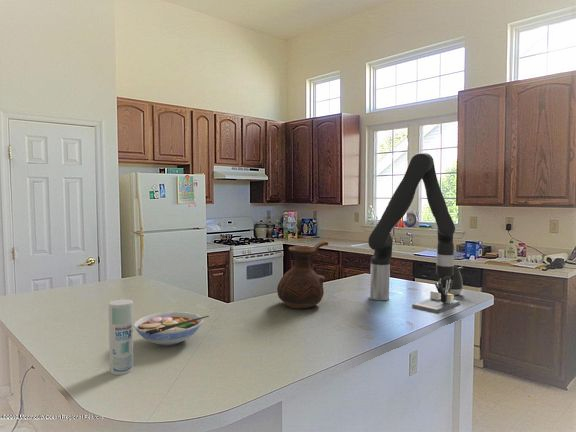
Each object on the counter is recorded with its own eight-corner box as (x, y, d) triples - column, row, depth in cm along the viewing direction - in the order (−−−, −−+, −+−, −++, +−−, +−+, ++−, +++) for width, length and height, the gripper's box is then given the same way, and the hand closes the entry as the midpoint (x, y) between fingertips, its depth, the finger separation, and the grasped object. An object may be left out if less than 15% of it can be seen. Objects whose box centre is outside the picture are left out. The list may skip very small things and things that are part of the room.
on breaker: (438, 299, 200) (438, 292, 199) (430, 298, 203) (430, 291, 202) (441, 298, 202) (441, 291, 201) (433, 297, 205) (433, 290, 204)
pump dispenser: (466, 296, 213) (467, 266, 213) (445, 296, 214) (446, 266, 213) (458, 291, 224) (459, 263, 223) (438, 291, 224) (439, 263, 223)
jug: (306, 314, 180) (307, 244, 178) (267, 306, 193) (268, 240, 191) (333, 304, 197) (334, 240, 195) (296, 296, 210) (296, 236, 208)
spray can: (112, 376, 118) (111, 306, 117) (107, 369, 123) (106, 301, 122) (136, 371, 122) (135, 302, 121) (130, 363, 127) (129, 298, 126)
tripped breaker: (450, 303, 193) (450, 295, 193) (442, 301, 196) (442, 293, 196) (453, 302, 195) (453, 294, 195) (445, 300, 198) (445, 292, 198)
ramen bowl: (179, 326, 163) (178, 305, 162) (218, 340, 148) (218, 317, 148) (117, 344, 144) (117, 320, 143) (156, 361, 129) (156, 335, 129)
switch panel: (436, 313, 184) (437, 309, 184) (412, 307, 192) (412, 304, 192) (459, 304, 199) (459, 301, 199) (435, 299, 207) (435, 296, 207)
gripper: (445, 267, 185) (444, 306, 186) (459, 263, 194) (458, 301, 195) (430, 264, 190) (428, 302, 191) (444, 261, 199) (443, 298, 200)
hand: (443, 301), depth 193 cm, fingers closed
